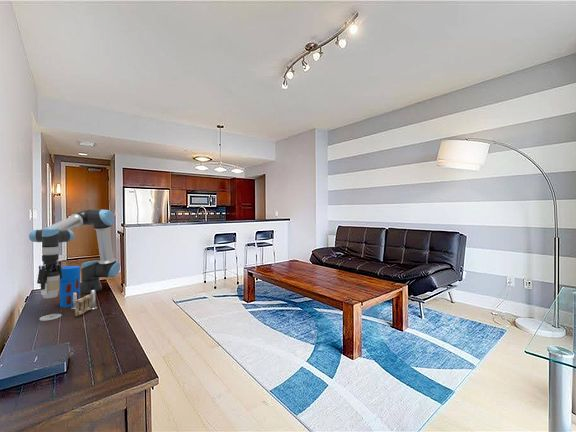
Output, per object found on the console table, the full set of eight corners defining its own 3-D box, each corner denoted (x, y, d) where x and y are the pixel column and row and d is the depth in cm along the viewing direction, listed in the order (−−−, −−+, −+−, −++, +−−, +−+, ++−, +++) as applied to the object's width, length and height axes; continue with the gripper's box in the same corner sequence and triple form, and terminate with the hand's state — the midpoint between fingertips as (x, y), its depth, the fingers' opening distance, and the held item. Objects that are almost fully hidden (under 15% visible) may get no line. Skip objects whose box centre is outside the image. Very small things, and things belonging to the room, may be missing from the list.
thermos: (83, 302, 195) (83, 266, 195) (70, 307, 185) (70, 269, 184) (69, 301, 197) (69, 265, 196) (55, 307, 186) (55, 268, 185)
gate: (90, 307, 182) (90, 293, 182) (92, 307, 182) (92, 293, 182) (75, 316, 168) (75, 300, 168) (77, 316, 168) (77, 300, 168)
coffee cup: (48, 299, 162) (48, 273, 162) (36, 298, 164) (36, 272, 164) (64, 294, 171) (64, 270, 171) (51, 293, 173) (51, 269, 173)
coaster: (48, 314, 173) (48, 313, 173) (65, 314, 173) (65, 313, 173) (34, 320, 163) (34, 320, 163) (52, 320, 163) (52, 320, 163)
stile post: (73, 307, 186) (73, 291, 186) (80, 307, 186) (80, 291, 186) (69, 309, 182) (69, 293, 182) (76, 309, 182) (75, 293, 182)
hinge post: (91, 307, 186) (91, 289, 185) (98, 307, 186) (98, 289, 186) (87, 309, 181) (87, 291, 181) (94, 309, 181) (94, 291, 181)
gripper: (57, 251, 178) (57, 287, 178) (28, 256, 156) (28, 298, 157) (70, 251, 178) (70, 287, 178) (42, 256, 157) (42, 298, 157)
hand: (50, 292), depth 168 cm, fingers closed on coffee cup, 8 cm apart
